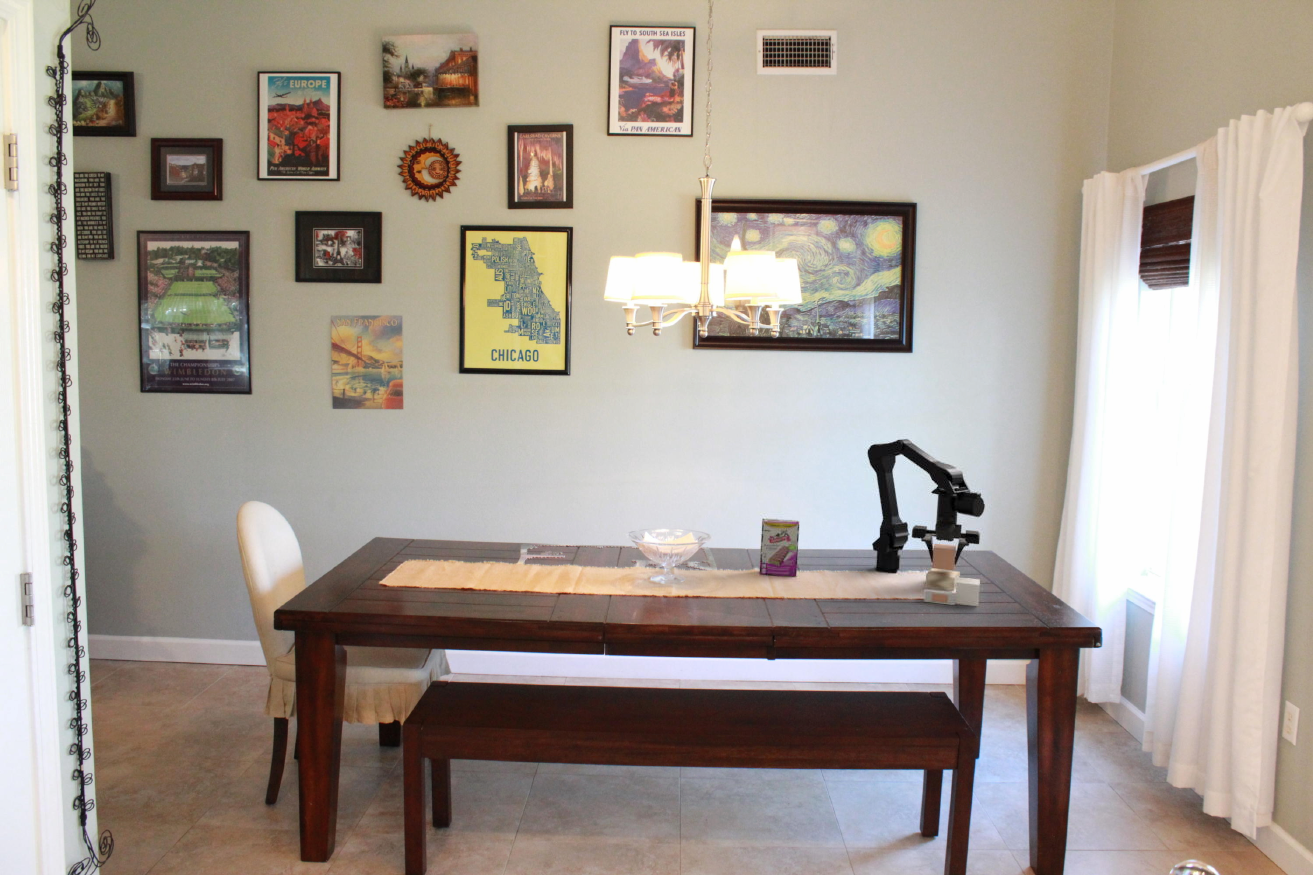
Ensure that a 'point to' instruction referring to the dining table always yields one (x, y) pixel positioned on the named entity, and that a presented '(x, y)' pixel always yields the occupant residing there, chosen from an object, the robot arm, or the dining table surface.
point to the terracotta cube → (944, 557)
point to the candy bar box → (779, 547)
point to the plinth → (939, 597)
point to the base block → (942, 579)
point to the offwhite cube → (967, 591)
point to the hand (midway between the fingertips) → (943, 563)
